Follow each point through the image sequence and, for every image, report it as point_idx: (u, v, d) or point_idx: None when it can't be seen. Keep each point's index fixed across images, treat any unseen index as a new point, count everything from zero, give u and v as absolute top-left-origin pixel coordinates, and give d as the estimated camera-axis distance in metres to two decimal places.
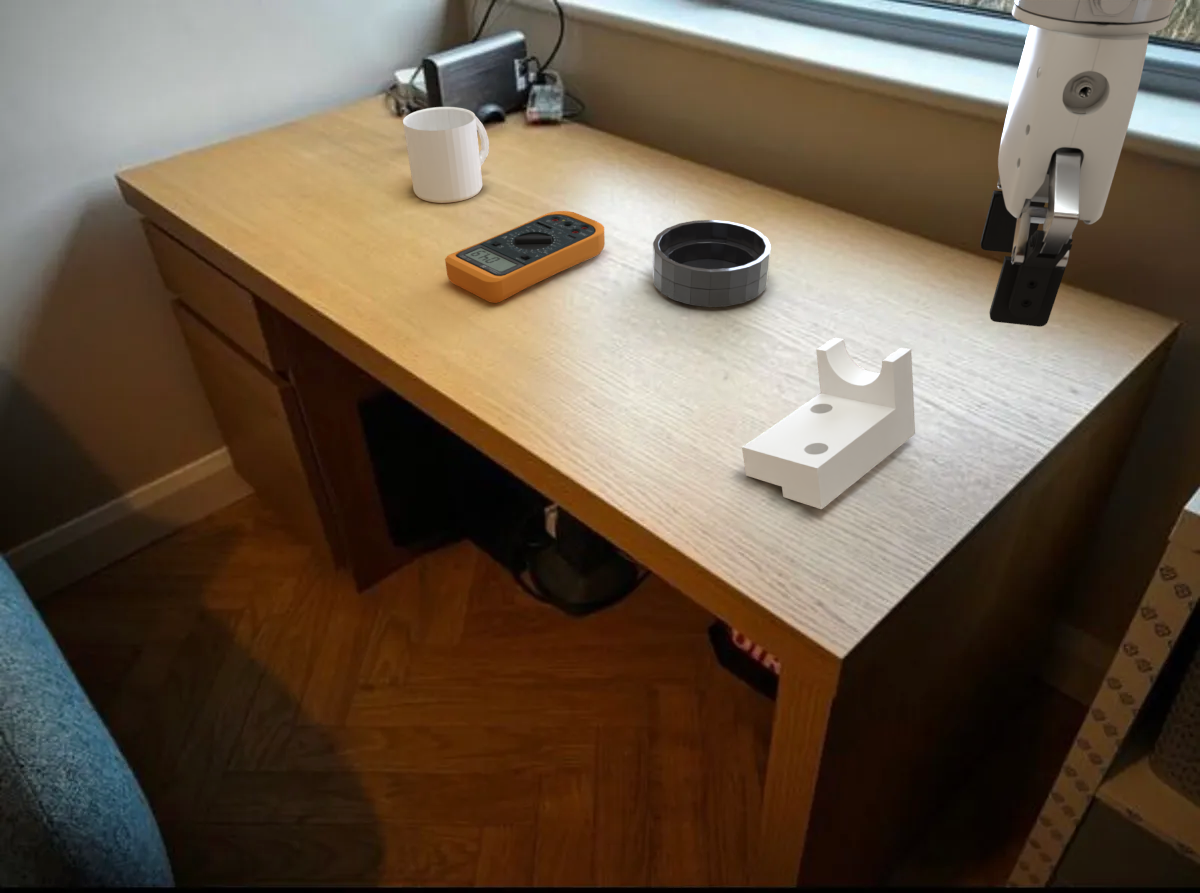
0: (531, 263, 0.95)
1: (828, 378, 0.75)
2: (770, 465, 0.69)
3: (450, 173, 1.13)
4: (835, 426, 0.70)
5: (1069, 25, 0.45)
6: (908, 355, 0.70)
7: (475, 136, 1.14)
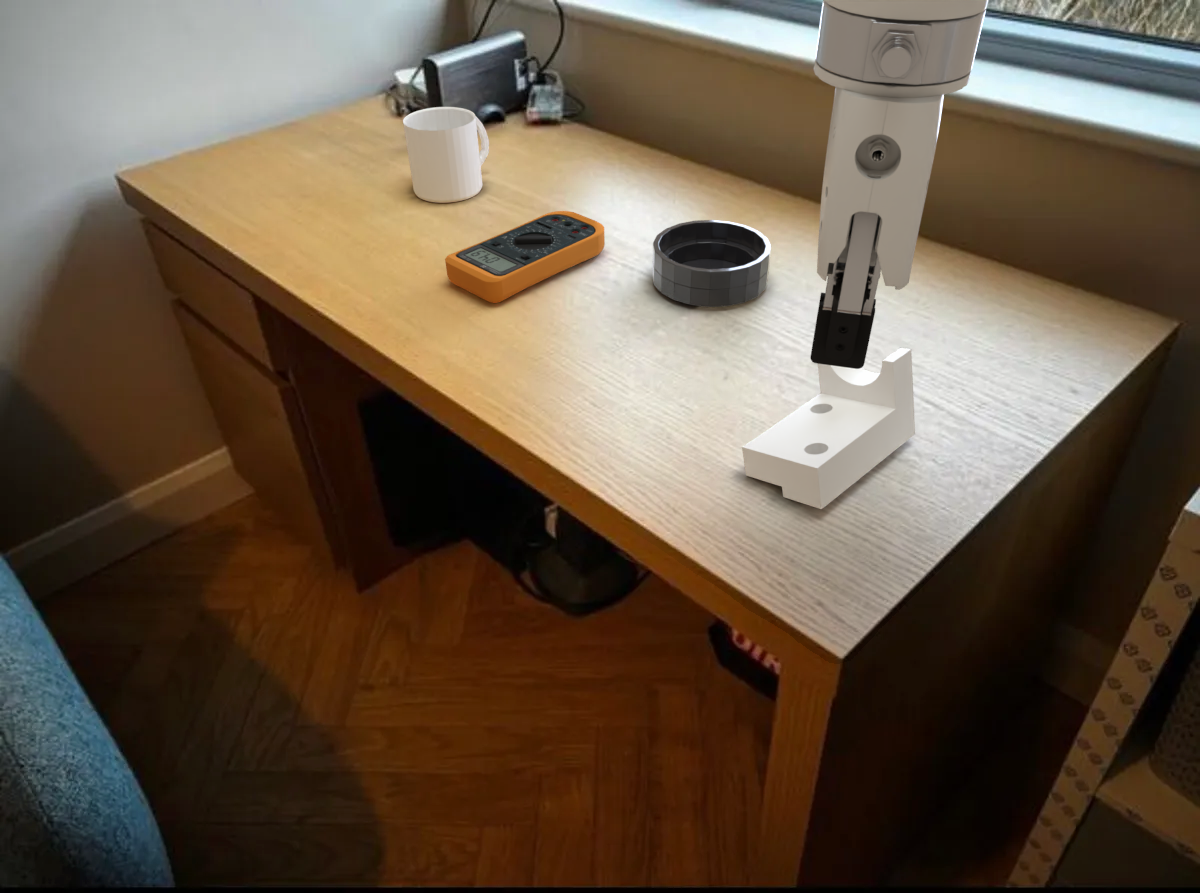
0: (531, 263, 0.95)
1: (828, 378, 0.75)
2: (770, 465, 0.69)
3: (450, 173, 1.13)
4: (835, 426, 0.70)
5: (859, 85, 0.42)
6: (908, 355, 0.70)
7: (475, 136, 1.14)
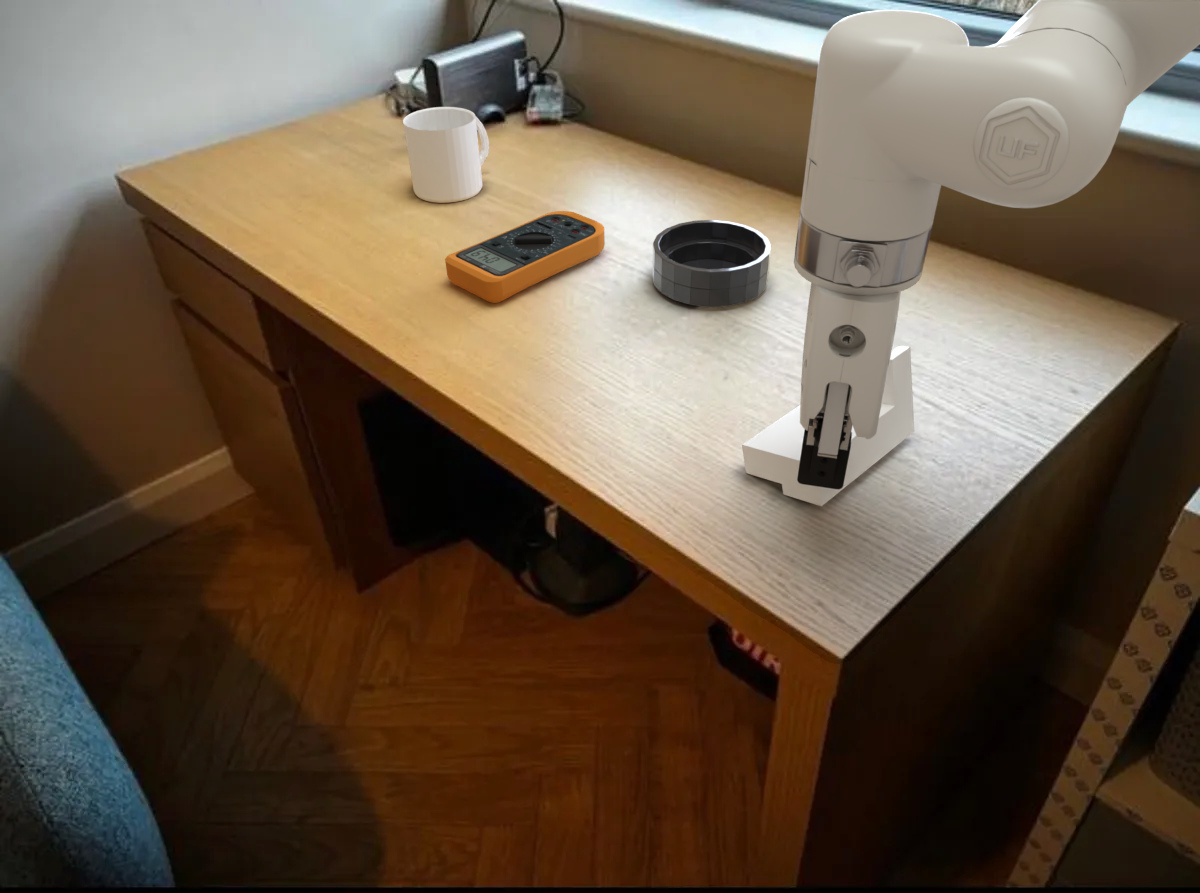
0: (531, 263, 0.95)
1: None
2: (770, 462, 0.69)
3: (450, 173, 1.13)
4: None
5: (830, 284, 0.52)
6: (907, 353, 0.71)
7: (475, 136, 1.14)
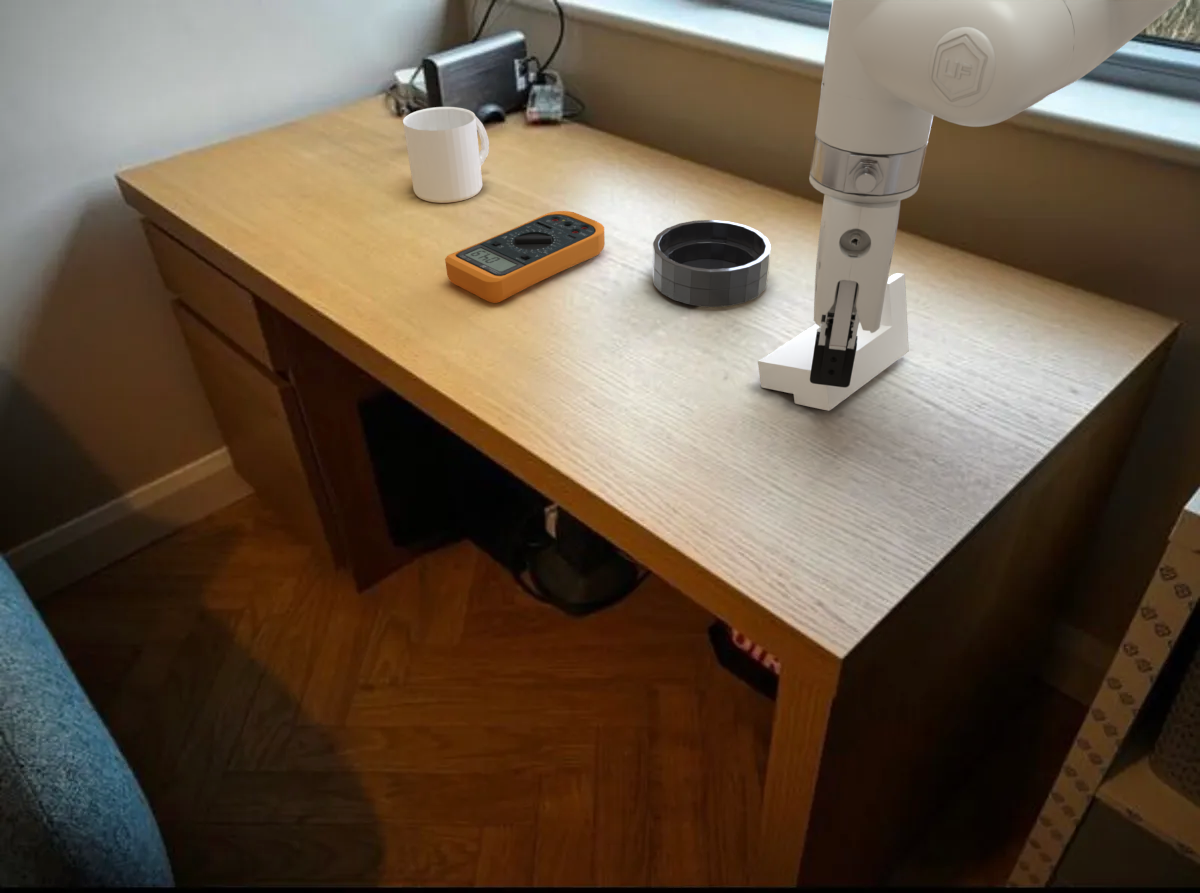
0: (531, 263, 0.95)
1: None
2: (783, 375, 0.79)
3: (450, 173, 1.13)
4: None
5: (841, 194, 0.61)
6: (902, 279, 0.80)
7: (475, 136, 1.14)
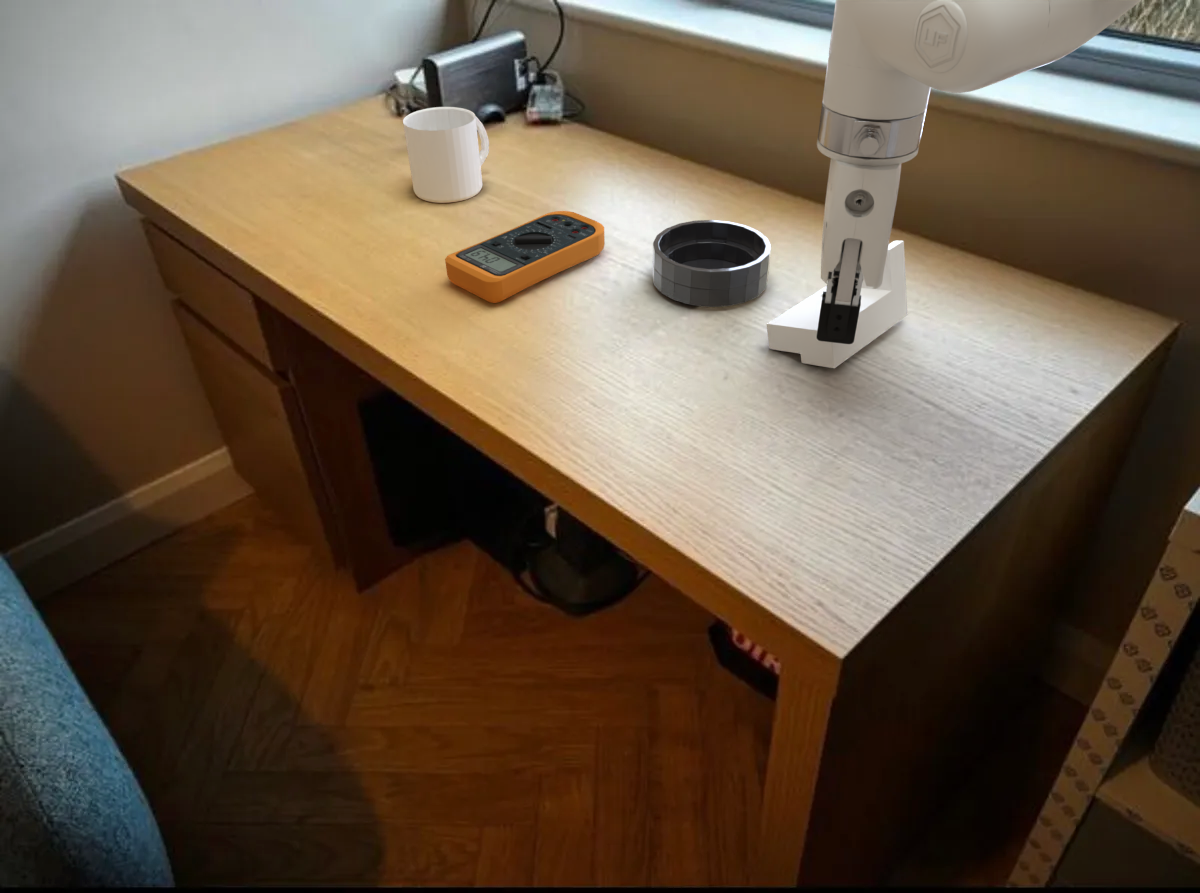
0: (531, 263, 0.95)
1: None
2: (790, 336, 0.84)
3: (450, 173, 1.13)
4: None
5: (846, 158, 0.66)
6: (901, 245, 0.85)
7: (475, 136, 1.14)
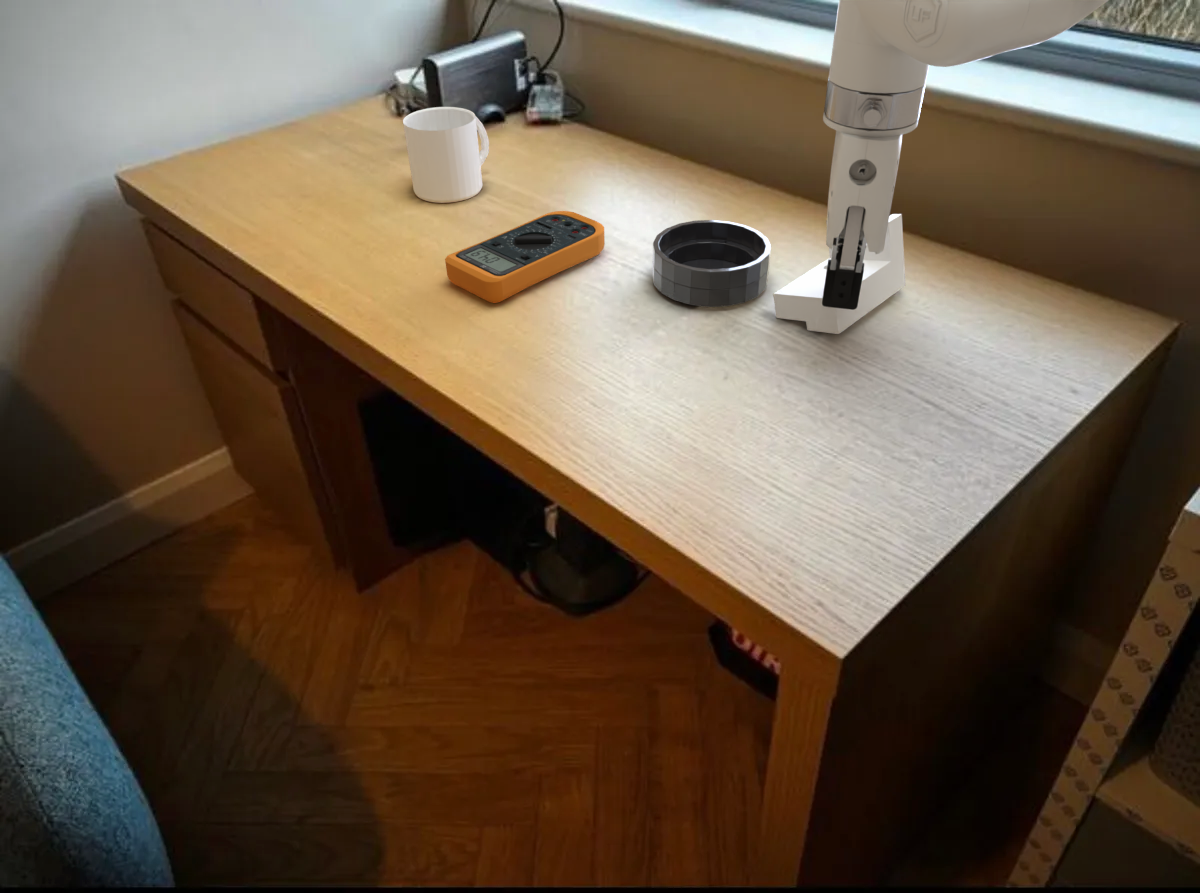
0: (531, 263, 0.95)
1: None
2: (796, 304, 0.88)
3: (450, 173, 1.13)
4: None
5: (850, 129, 0.71)
6: (899, 218, 0.90)
7: (475, 136, 1.14)
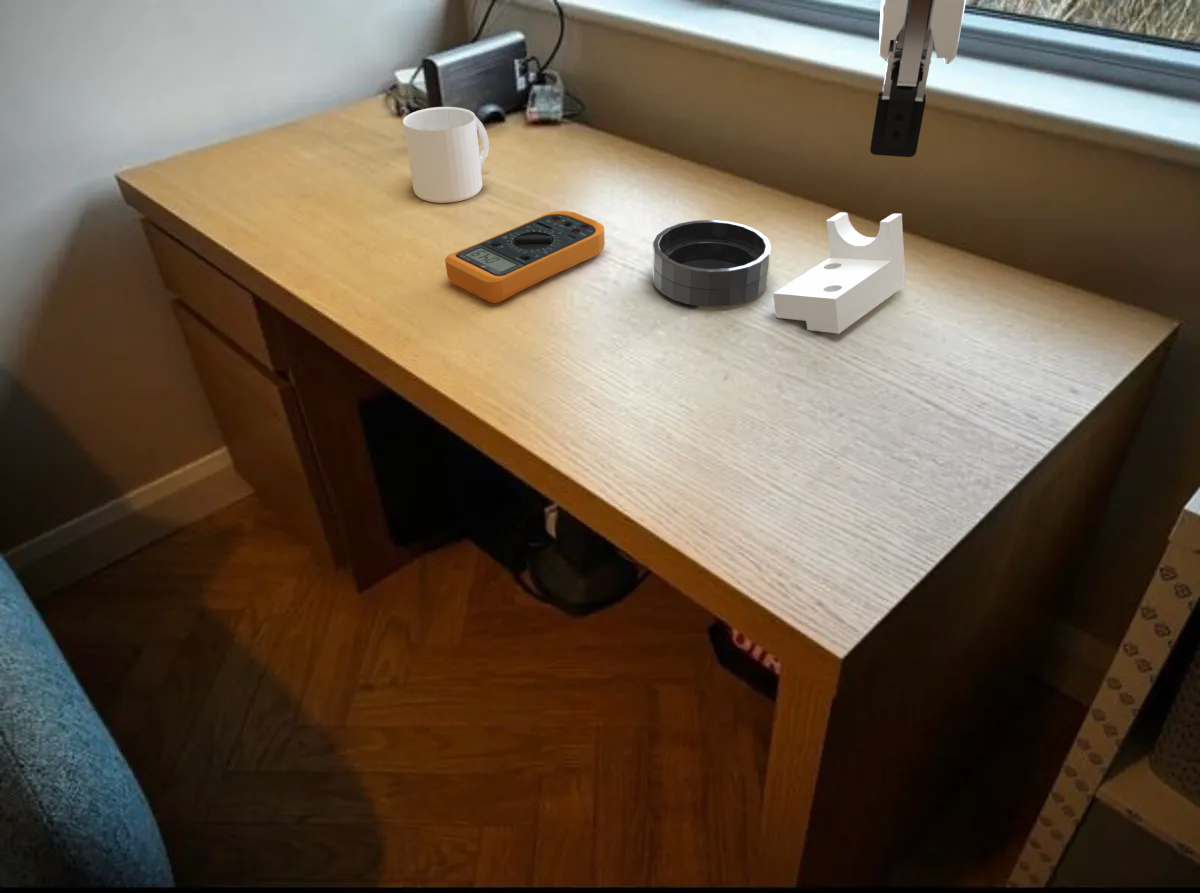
0: (531, 263, 0.95)
1: (836, 244, 0.94)
2: (796, 304, 0.88)
3: (450, 173, 1.13)
4: (845, 275, 0.90)
5: None
6: (899, 218, 0.90)
7: (475, 136, 1.14)
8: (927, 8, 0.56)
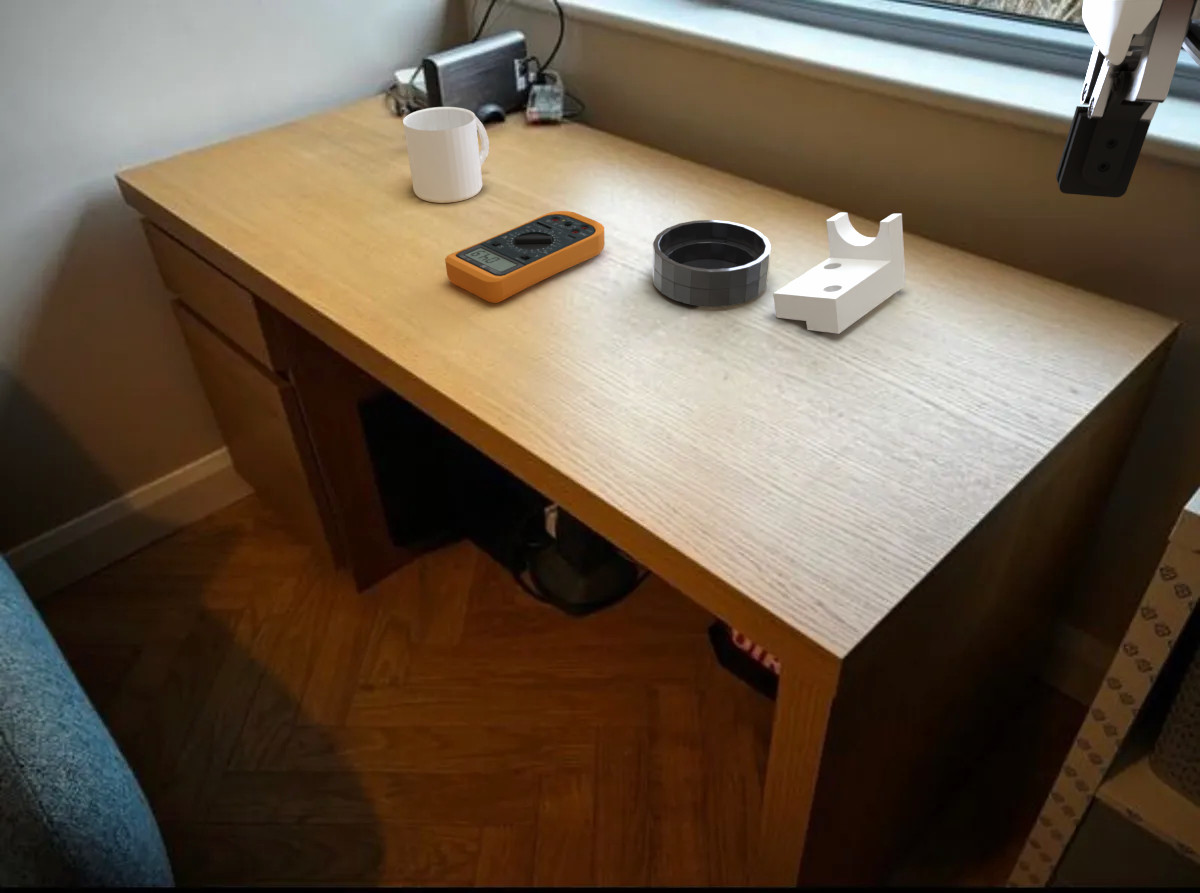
0: (531, 263, 0.95)
1: (836, 243, 0.94)
2: (796, 304, 0.88)
3: (450, 173, 1.13)
4: (845, 275, 0.90)
5: None
6: (899, 218, 0.90)
7: (475, 136, 1.14)
8: None
